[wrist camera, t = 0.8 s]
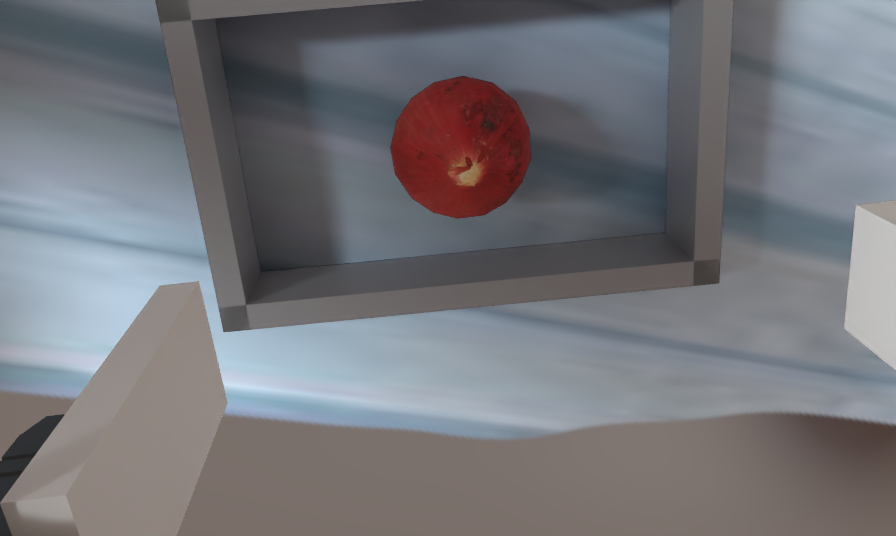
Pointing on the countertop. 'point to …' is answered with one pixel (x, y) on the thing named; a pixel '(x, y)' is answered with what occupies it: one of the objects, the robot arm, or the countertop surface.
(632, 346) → the countertop surface
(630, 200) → the countertop surface
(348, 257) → the countertop surface
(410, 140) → the onion
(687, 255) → the bin
